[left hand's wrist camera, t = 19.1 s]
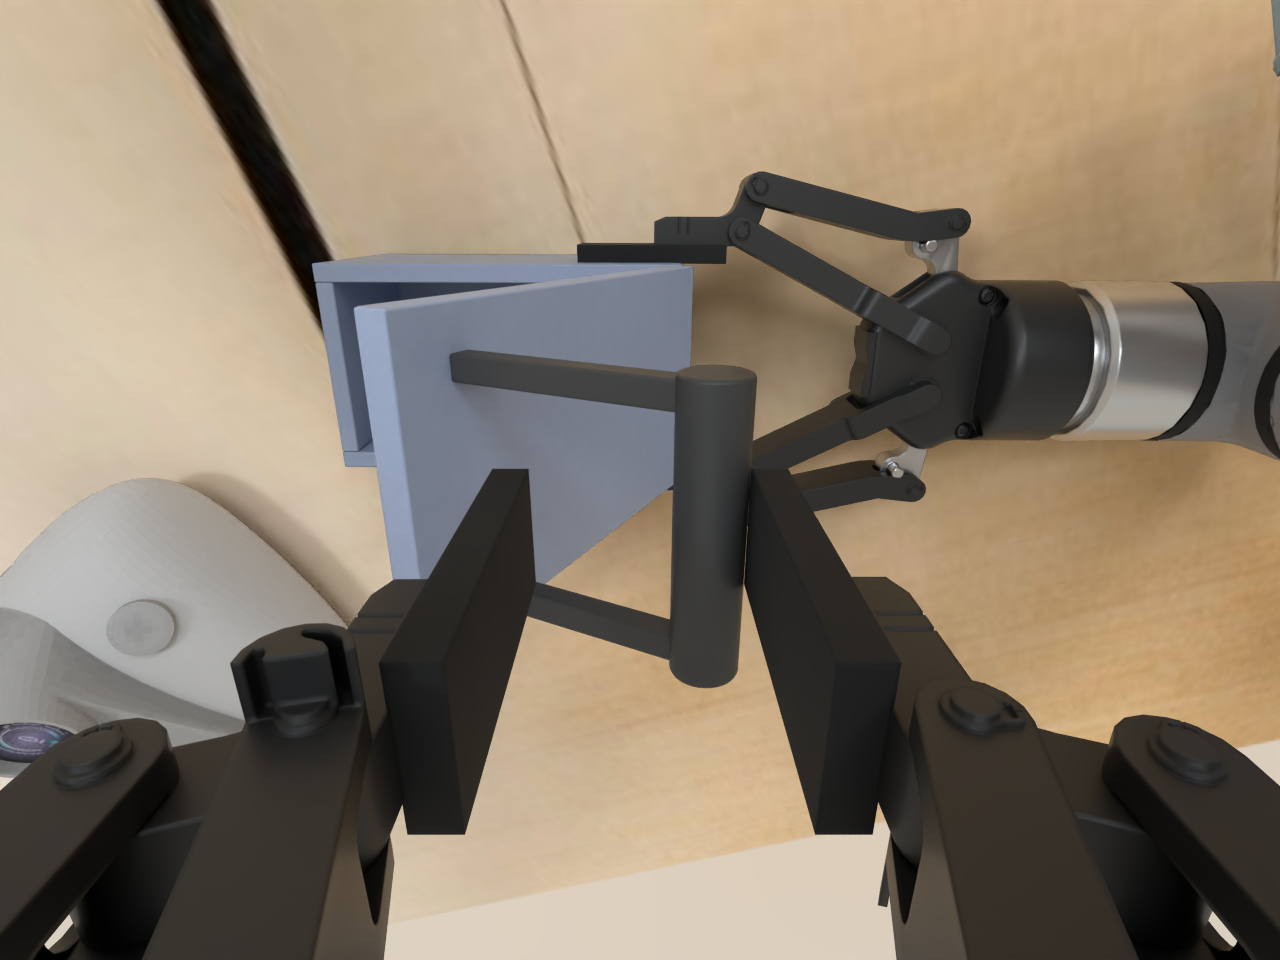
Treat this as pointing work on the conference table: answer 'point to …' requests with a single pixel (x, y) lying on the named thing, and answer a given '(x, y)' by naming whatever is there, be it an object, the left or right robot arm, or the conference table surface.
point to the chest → (414, 279)
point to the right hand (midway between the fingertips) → (583, 360)
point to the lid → (570, 442)
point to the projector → (137, 618)
